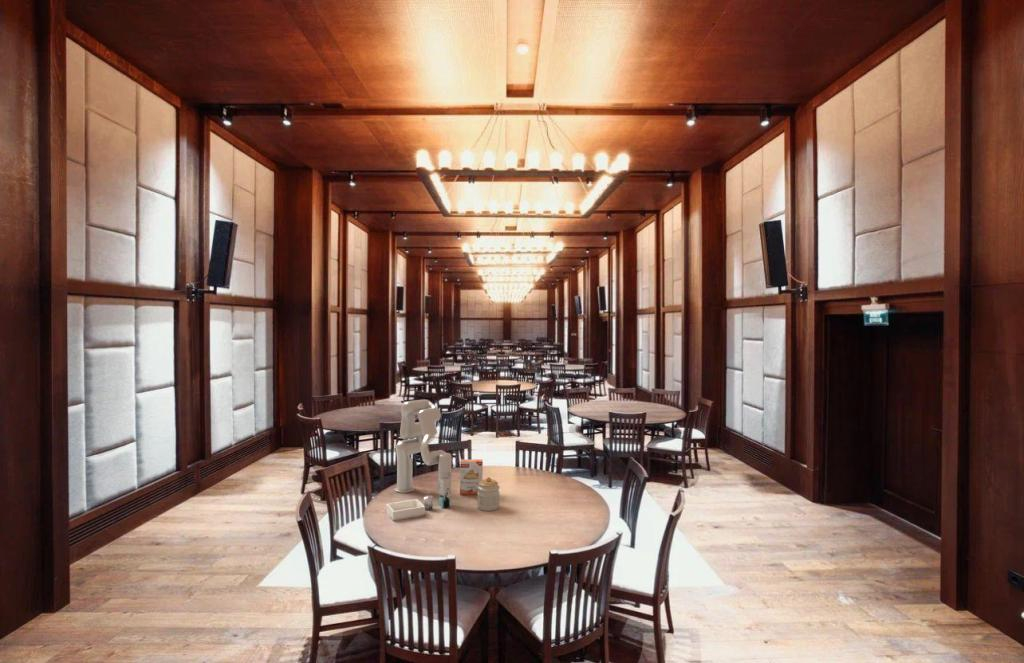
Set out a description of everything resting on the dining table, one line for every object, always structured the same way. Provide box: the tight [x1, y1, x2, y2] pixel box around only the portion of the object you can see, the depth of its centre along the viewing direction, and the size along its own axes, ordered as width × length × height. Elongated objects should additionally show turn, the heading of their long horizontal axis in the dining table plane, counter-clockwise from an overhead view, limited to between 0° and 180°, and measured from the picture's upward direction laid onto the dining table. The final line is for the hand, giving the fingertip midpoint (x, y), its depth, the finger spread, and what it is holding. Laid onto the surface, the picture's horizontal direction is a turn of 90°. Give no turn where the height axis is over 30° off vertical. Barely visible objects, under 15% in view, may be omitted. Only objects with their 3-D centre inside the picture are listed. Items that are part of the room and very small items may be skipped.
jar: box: [476, 476, 501, 512], centre depth 309 cm, size 13×13×18 cm
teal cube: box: [438, 496, 451, 509], centre depth 310 cm, size 5×5×5 cm
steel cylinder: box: [423, 495, 434, 512], centre depth 305 cm, size 5×5×7 cm
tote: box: [385, 498, 426, 522], centre depth 297 cm, size 14×18×5 cm
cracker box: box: [459, 458, 484, 496], centre depth 333 cm, size 14×6×21 cm, turn 96°
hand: (444, 505), depth 310 cm, fingers closed on teal cube, 5 cm apart
